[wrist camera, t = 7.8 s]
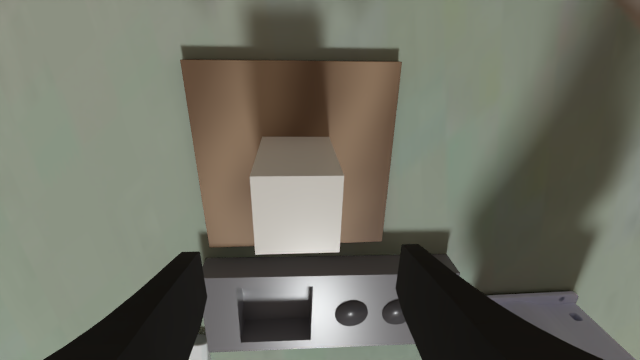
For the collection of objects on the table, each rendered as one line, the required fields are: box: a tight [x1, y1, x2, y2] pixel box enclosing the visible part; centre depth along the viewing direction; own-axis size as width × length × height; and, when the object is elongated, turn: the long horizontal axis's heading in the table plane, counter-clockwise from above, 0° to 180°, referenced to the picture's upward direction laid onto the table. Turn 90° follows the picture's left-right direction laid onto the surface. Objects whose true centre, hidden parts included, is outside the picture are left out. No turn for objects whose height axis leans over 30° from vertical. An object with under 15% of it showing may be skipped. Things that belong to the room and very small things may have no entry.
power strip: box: [202, 254, 460, 352], centre depth 24 cm, size 18×7×3 cm, turn 88°
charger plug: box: [250, 137, 344, 255], centre depth 17 cm, size 4×4×6 cm
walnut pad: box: [180, 59, 402, 248], centre depth 20 cm, size 12×12×1 cm
